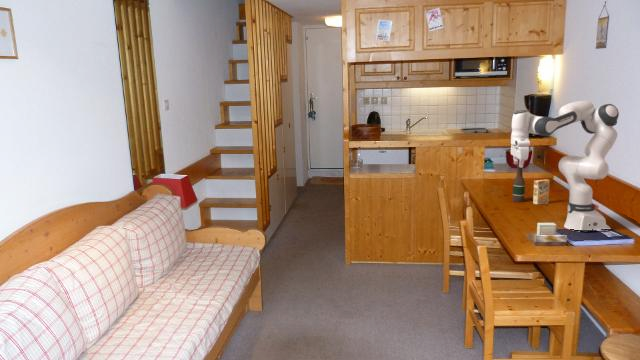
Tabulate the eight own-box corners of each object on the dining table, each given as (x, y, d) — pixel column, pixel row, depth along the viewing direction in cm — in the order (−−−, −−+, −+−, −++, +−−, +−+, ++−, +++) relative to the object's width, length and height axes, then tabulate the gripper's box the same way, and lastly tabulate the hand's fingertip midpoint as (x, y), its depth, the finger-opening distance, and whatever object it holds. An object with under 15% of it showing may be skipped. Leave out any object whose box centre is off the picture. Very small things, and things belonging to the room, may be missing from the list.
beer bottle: (521, 199, 348) (523, 164, 343) (526, 202, 340) (528, 166, 335) (510, 199, 347) (511, 164, 342) (514, 202, 340) (516, 166, 335)
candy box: (537, 204, 332) (538, 181, 329) (532, 203, 336) (533, 180, 333) (548, 203, 335) (549, 180, 332) (544, 202, 339) (545, 179, 336)
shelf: (556, 236, 271) (556, 227, 270) (566, 245, 257) (567, 236, 256) (526, 236, 272) (526, 227, 271) (535, 245, 258) (535, 236, 257)
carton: (536, 236, 267) (537, 222, 265) (552, 235, 266) (553, 222, 264) (539, 238, 262) (540, 225, 261) (555, 238, 262) (556, 225, 260)
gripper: (508, 138, 292) (507, 162, 295) (519, 143, 272) (517, 169, 275) (519, 138, 291) (518, 162, 294) (531, 143, 271) (530, 169, 274)
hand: (518, 165), depth 284 cm, fingers open, 8 cm apart
